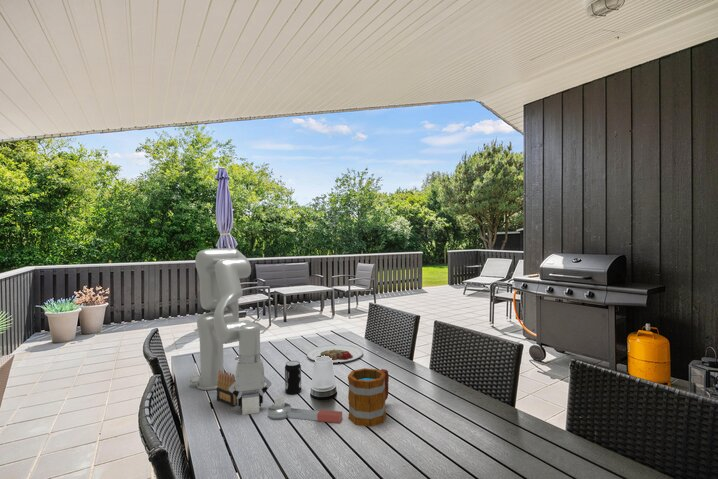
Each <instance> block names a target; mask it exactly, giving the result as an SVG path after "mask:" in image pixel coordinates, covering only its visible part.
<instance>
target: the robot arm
mask: <svg viewBox="0 0 718 479" xmlns="http://www.w3.org/2000/svg"><path fill="white" fill-rule="evenodd" d="M194 261H195V267H196V270H197V274H198V279H199V297H200V299H199V301H200V306H201V308H202V309H203V310H206V311H207V310H209V311H210V312H206V313H203V314H201V315H200V316H198V318H197V321H196V325H197V326H196V328H197V332H198V338H199V362H200V363H199V364H200V366H199V368H200V374H199V375H197V376H191V377H189V382H190V383H192V384H194V383H196V388H197V389H199V390H201V391H202V390H203V391H211V390H217V387H218V372H219V370H220V371H221V372H222V371H223V373H224V372H225V368H224V367H225V366H224V365H225V364H224V345H228V344H232V343H237V342H238V355H236V356H234V360H235V361H238V362H237V363H236V371H235V381H234V382H233V383H232V384H231V386H230V387H229V391H230V392H232V393H233V394H234V395H235V396H236V397H237V406H238V407H239V408H240V410H242V393H243V391H252V390H258V391H259V408H260V407H262V404H263V403H264V397H263V396H264V394H265V393H266V392H267V390H268V389H269V388H271V386H272V384H273V383H272V381H271V380H269V379H268V378H267V377H266V376H265V368H264V362H263V359H261V333H260V332H261V329H260V328H261V327H260V326H259V324H257V323H254V322H253V321H252V320H249V319H243V320H240V316H239V315H240V313H239V311H240V310H239V307H240V306H239V299H240V298H242V297H243V292H244V291H243V288H242V285H241V280H240V279H245V278H248V277H250V276H251V274H252V265H251V263H250V261H249V259H248V258H247V257H246V256H245V255H244V254H242V252H241V251H239V250H238V249H236V248H233V247H231V248H230V247H229V248H228V247H227V248H208V249H207V248H206V249H202V250H200V251H198V252H197V254H196V256H195V260H194ZM211 310H214V311H211ZM265 384H266V385H265ZM235 386H236V390H235V389H234V387H235Z"/></svg>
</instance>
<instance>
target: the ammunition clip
mask: <svg viewBox="0 0 718 479" xmlns="http://www.w3.org/2000/svg"><path fill="white" fill-rule="evenodd" d="M235 380H236V377H235V375H234V374H233V373H229V372H226V371H224V373H223V371H222V372H221V371H220V370H219V372H218V387H217V389H216V401H218V402H221V403H223V404H224V405H228V406H230V407H235V406H238V398H237V397H236V396H235V395H234V394H233V393H232V392H230V391H229V387H230V386H231V384H232V383H233V382H234V381H235ZM234 389H235V390H236V386H235V387H234Z"/></svg>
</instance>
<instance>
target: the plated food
mask: <svg viewBox="0 0 718 479" xmlns="http://www.w3.org/2000/svg"><path fill="white" fill-rule="evenodd" d="M363 354H364V352H363V349H362V348H360V347H359V346H358V347H357V346H354V345H351V344H350V345H349V344H348V345H347V344H328V345H321V346H317V347H314V348H312V349H310V350H308V351H307V353H306V355H307V358H309V359H310V360H313V361H315V359H316V358H317V357H321V356H324V355H325V356H329V357H330V358H332V360H333V363H332V364H337V363H338V362H340V363H345V362H351V361H353V360H354V361H355V360H356V359H359V358H361V357H362V356H363ZM338 364H339V363H338Z"/></svg>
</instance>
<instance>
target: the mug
mask: <svg viewBox="0 0 718 479" xmlns="http://www.w3.org/2000/svg"><path fill="white" fill-rule="evenodd" d="M389 378H390V375H389V370H387V369H383V368H382V369H377V368H376V369H375V368H360V369H354V370H351V371H350V373H348V375H347V380H348V394H347V395H348V396H347V397H348V420H349V421H350V422H352V424H354V425H355V426H361V427H363V426H364V427H374V426H376V425H380V424H384V422H385V419H386V417H387V411H386V401H387V399H388V396H389V381H390V380H389Z"/></svg>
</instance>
